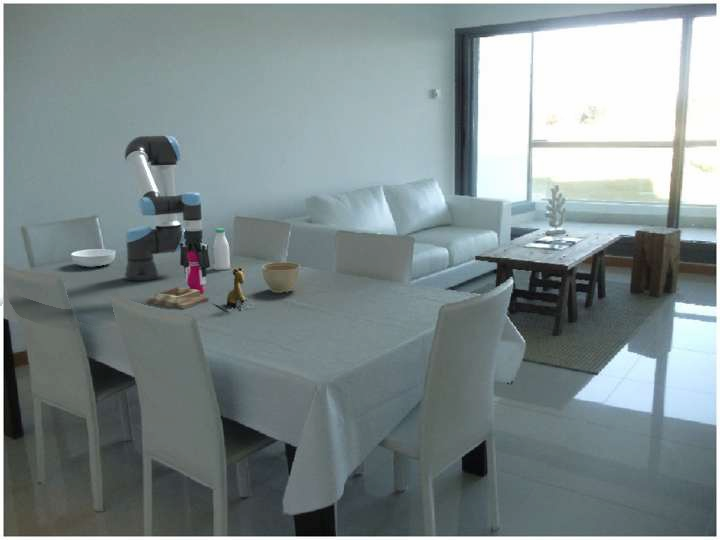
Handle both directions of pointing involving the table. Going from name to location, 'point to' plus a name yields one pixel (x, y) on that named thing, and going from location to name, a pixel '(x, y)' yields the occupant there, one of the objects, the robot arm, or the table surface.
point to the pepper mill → (194, 272)
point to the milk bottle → (221, 251)
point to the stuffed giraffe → (235, 292)
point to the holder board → (178, 298)
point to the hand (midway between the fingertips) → (196, 283)
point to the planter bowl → (281, 276)
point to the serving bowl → (93, 257)
